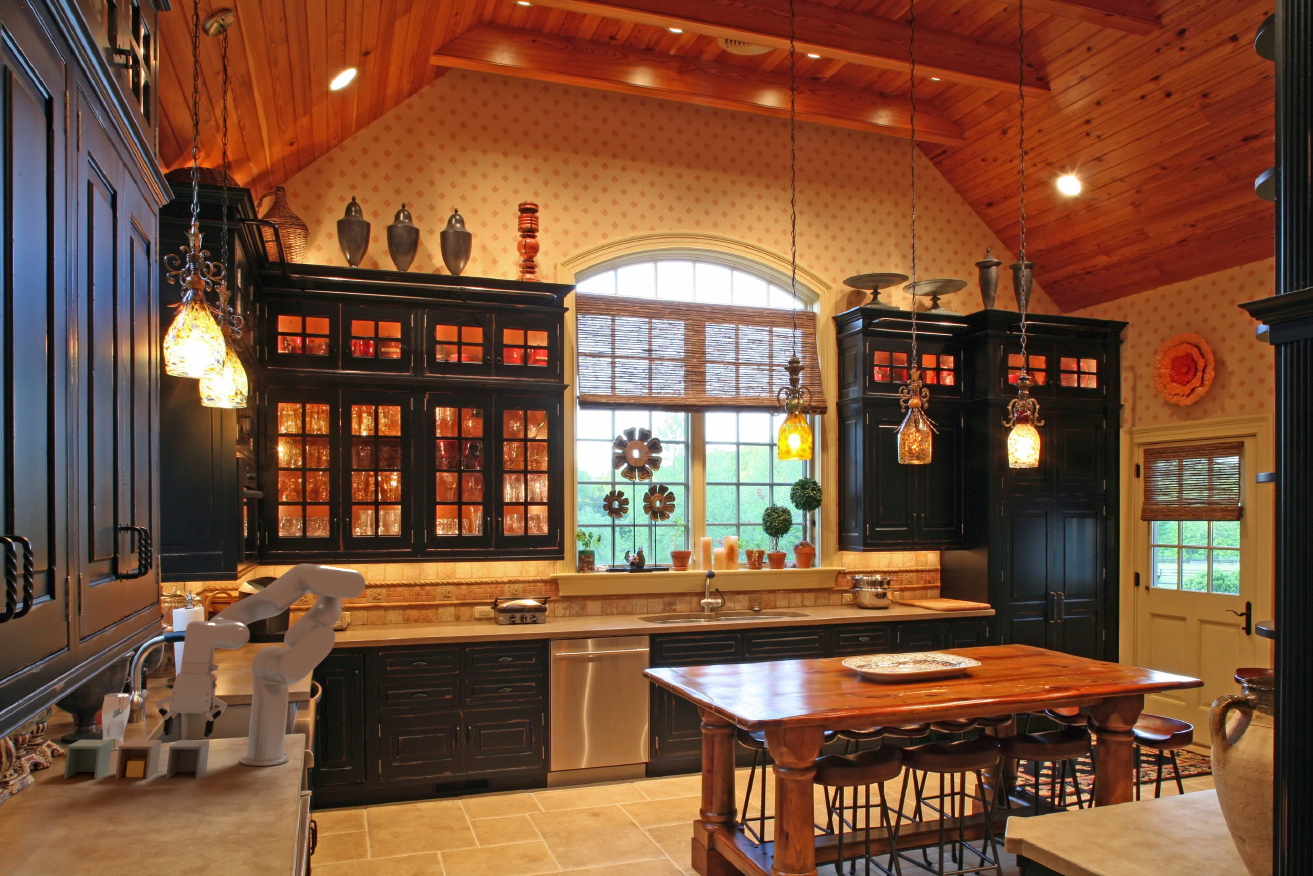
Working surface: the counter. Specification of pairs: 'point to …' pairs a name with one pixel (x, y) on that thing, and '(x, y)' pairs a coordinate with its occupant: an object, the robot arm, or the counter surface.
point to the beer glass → (115, 717)
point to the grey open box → (188, 757)
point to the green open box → (88, 757)
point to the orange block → (136, 767)
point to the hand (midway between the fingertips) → (187, 735)
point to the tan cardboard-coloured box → (139, 755)
